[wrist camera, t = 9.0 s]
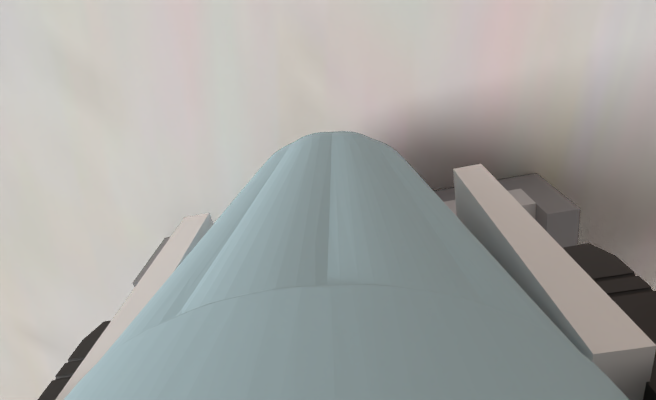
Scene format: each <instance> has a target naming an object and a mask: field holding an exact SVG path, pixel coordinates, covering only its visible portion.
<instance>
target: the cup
mask: <svg viewBox="0 0 656 400" xmlns="http://www.w3.org/2000/svg"><path fill="white" fill-rule="evenodd" d="M64 400H629V399H628V398H627V397H626V395H625V394H624V393H623V392H622V391H621V390H620V389H619V388H618V387H617V386H616V385H615V384H614V383H613V382H612V381H611V380H610V378H609V377H608V376H607V375H606V374H605V373H604V372H603V371H602V370H601V369H600V368H599V367H598V366H597V365H595V364H594V363H593V362H592V361H591V360H590V359H588V358H587V357H586V356H585V355H583V354H582V353H581V352H580V351H579V350H578V349H577V348H576V347H575V346H574V344H573V343H572V342H571V341H570V340H569V339H568V338H567V337H566V336H565V335H564V334H563V333H562V331H561V330H560V329H559V328H558V327H557V326H556V325H555V324H554V323H553V322H552V321H551V319H550V318H549V317H548V316H547V315H546V314H545V313H544V312H543V311H542V310H541V309H540V308H539V306H538V305H537V304H536V303H535V302H534V301H533V300H532V299H531V298H530V297H529V295H528V294H527V293H526V292H525V291H524V290H523V289H522V288H521V287H520V286H519V284H518V283H517V282H516V281H515V280H514V279H513V278H512V277H511V276H510V275H509V273H508V272H507V271H506V270H505V269H504V268H503V267H502V266H501V265H500V264H499V262H498V261H497V260H496V259H495V258H494V257H493V256H492V255H491V254H490V253H489V251H488V250H487V249H486V248H485V247H484V246H483V245H482V244H481V243H480V242H479V240H478V239H477V238H476V237H475V236H474V235H473V234H472V233H471V232H470V231H469V229H468V228H467V227H466V226H465V225H464V224H463V223H462V222H461V221H460V220H459V219H458V217H457V216H456V215H455V214H454V213H453V212H452V211H451V210H450V209H449V208H448V206H447V205H446V204H445V203H444V202H443V201H442V200H441V199H440V198H439V197H438V195H437V194H436V193H435V192H434V191H433V190H432V189H431V188H430V187H429V186H428V184H427V183H426V182H425V181H424V180H423V179H422V178H421V177H420V176H419V175H418V173H417V172H416V171H415V170H414V169H413V168H412V167H411V166H410V165H409V164H408V163H407V162H406V160H405V159H404V158H403V157H402V156H401V155H400V154H399V153H398V152H396V151H395V150H394V149H393V148H391V147H390V146H388V145H387V144H384V143H382V142H380V141H377V140H374V139H372V138H370V137H367V136H365V135H363V134H359V133H355V132H346V131H340V132H320V133H314V134H310V135H307V136H304V137H302V138H300V139H298V140H297V141H295V142H293V143H291V144H289V145H287V146H285V147H283V148H281V149H280V150H278V151H277V152H276V153H274V154H273V155H272V156H271V157H270V158H269V159H268V160H267V162H266V163H265V164H264V165H263V166H262V167H261V168H260V169H259V171H258V172H257V173H256V174H255V175H254V177H253V178H252V179H251V180H250V181H249V183H248V184H247V185H246V186H245V187H244V188H243V190H242V191H241V192H240V193H239V194H238V196H237V197H236V198H235V199H234V200H233V202H232V203H231V204H230V205H229V206H228V208H227V209H226V210H225V211H224V212H223V214H222V215H221V216H220V217H219V218H218V220H217V221H216V222H215V223H214V224H213V225H212V227H211V228H210V229H209V230H208V231H207V233H206V234H205V235H204V236H203V237H202V239H201V240H200V241H199V242H198V243H197V245H196V246H195V247H194V248H193V249H192V251H191V252H190V253H189V254H188V255H187V256H186V258H185V259H184V260H183V261H182V262H181V264H180V265H179V266H178V267H177V268H176V270H175V271H174V272H173V273H172V274H171V276H170V277H169V278H168V279H167V280H166V282H165V283H164V284H163V285H162V286H161V288H160V289H159V290H158V291H157V292H156V293H155V295H154V296H153V297H152V298H151V299H150V301H149V302H148V303H147V304H146V305H145V307H144V308H143V309H142V310H141V311H140V313H139V314H138V315H137V316H136V317H135V319H134V320H133V321H132V322H131V323H130V325H129V326H128V327H127V328H126V329H125V330H124V332H123V333H122V334H121V335H120V336H119V338H118V339H117V340H116V341H115V342H114V344H113V345H112V346H111V347H110V348H109V350H108V351H107V352H106V353H105V354H104V356H103V357H102V358H101V359H100V360H99V362H98V363H97V364H96V365H95V366H94V367H93V368H92V369H91V370H90V371H89V372H88V373H87V374H86V375H85V376H84V377H83V378H82V379H81V380H80V381H79V382H78V383H77V385H76V386H75V387H74V388H73V389H72V390H71V392H70V393H69V394H68V395H67V396H66V397H65V399H64Z"/></svg>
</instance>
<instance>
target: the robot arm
mask: <svg viewBox="0 0 656 400" xmlns="http://www.w3.org/2000/svg"><path fill="white" fill-rule="evenodd" d="M453 175H454V188H455V202H456V215H457V217H458V219H459V220H460V221H461V222H462V223H463V224H464V225H465V226H466V227H467V228H468V229H469V231H470V232H471V233H472V234H473V235H474V236H475V237H476V238H477V239H478V240H479V242H480V243H481V244H482V245H483V246H484V247H485V248H486V249H487V250H488V251H489V253H490V254H491V255H492V256H493V257H494V258H495V259H496V260H497V261H498V262H499V264H500V265H501V266H502V267H503V268H504V269H505V270H506V271H507V272H508V273H509V275H510V276H511V277H512V278H513V279H514V280H515V281H516V282H517V283H518V284H519V286H520V287H521V288H522V289H523V290H524V291H525V292H526V293H527V294H528V295H529V297H530V298H531V299H532V300H533V301H534V302H535V303H536V304H537V305H538V306H539V308H540V309H541V310H542V311H543V312H544V313H545V314H546V315H547V316H548V317H549V318H550V319H551V321H552V322H553V323H554V324H555V325H556V326H557V327H558V328H559V329H560V330H561V331H562V333H563V334H564V335H565V336H566V337H567V338H568V339H569V340H570V341H571V342H572V343H573V344H574V346H575V347H576V348H577V349H578V350H579V351H580V352H581V353H582V354H583V355H585V356H586V357H587V358H588V359H590V360H591V361H592V362H593V363H594V364H595V365H597V366H598V367H599V368H600V369H601V370H602V371H603V372H604V373H605V374H606V375H607V376H608V377H609V378H610V380H611V381H612V382H613V383H614V384H615V385H616V386H617V387H618V388H619V389H620V390H621V391H622V392H623V393H624V394H625V395H626V397H627V398H628V399H629V400H656V291H652V289H651V287H650V286H649V285H648V284H647V283H646V282H645V281H644V280H642V279H641V278H640V277H639V276H635V274H634V272H633V271H632V270H631V269H630V268H629V267H628V266H626V265H625V264H624V263H623V262H622V261H621V260H620V259H618V258H617V257H616V256H615V255H613V254H610V253H608V252H606V251H604V250H602V249H600V248H597V247H595V246H593V245H591V244H589V243H588V244H581V245H575V246H569V247H561V246H560V245H559V244H558V243H557V242H556V241H555V240H554V239H553V238H552V237H551V236H550V235H549V234H548V232H547V231H546V230H545V229H544V228H543V227H542V226H541V225H540V224H539V223H538V222H537V221H536V220H535V219H534V218H533V217H532V216H531V215H530V214H529V213H528V212H527V211H526V210H525V209H524V208H523V207H522V206H521V204H520V203H519V202H518V201H517V200H516V199H515V198H514V197H513V196H512V195H511V194H510V193H509V192H508V191H507V190H506V189H505V188H504V187H503V186H502V185H501V184H500V183H499V182H498V181H497V180H496V179H495V178H494V176H493V175H492V174H491V173H490V172H489V171H488V170H487V169H486V168H485V167H484V166H483V165H482V164H477V165H471V166H466V167H460V168H455V169H453ZM212 225H213V221H212V219H211V216H210V213H205V214H200V215H194V216H188V217H184V219H183V220H182V221H181V223H180V224H179V226H178V227H177V228H176V230H175V231H174V233H173V234H172V236H171V237H170V238H169V240H168V241H167V243H166V244H165V245H164V247H163V248H162V250H161V251H160V252H159V254H158V255H157V257H156V258H155V260H154V261H153V262H152V264H151V265H150V267H149V268H148V269H147V271H146V272H145V274H144V275H143V277H142V278H141V279H140V281H139V282H138V284H137V285H136V286H135V288H134V289H133V291H132V292H131V293H130V295H129V296H128V298H127V299H126V301H125V302H124V303H123V305H122V306H121V308H120V309H119V310H118V312H117V313H116V315H115V316H114V317H113V319H112V320H111V321H105V322H103V323H102V324H101V325H99V326H98V327H97V328H96V329H95V330H94V331H92V332H91V333H90V334H89V335H88V336H87V337H86V338H84V339H83V340H82V342H81V343H80V344H79V346H78V347H77V348H76V350H75V351H74V352H73V354H72V355H71V356H70V358H69V359H68V363H65V364H64V366H63V367H62V368H61V370H60V371H59V372H58V374H57V375H56V379H55V380H53V381H51V383H50V384H49V385H48V387H47V388H46V389H45V391H44V392H43V393H42V395H41V396H40V397H39V399H38V400H64V399H65V397H66V396H67V395H68V394H69V393H70V392H71V390H72V389H73V388H74V387H75V386H76V385H77V383H78V382H79V381H80V380H81V379H82V378H83V377H84V376H85V375H86V374H87V373H88V372H89V371H90V370H91V369H92V368H93V367H94V366H95V365H96V364H97V363H98V362H99V360H100V359H101V358H102V357H103V356H104V354H105V353H106V352H107V351H108V350H109V348H110V347H111V346H112V345H113V344H114V342H115V341H116V340H117V339H118V338H119V336H120V335H121V334H122V333H123V332H124V330H125V329H126V328H127V327H128V326H129V325H130V323H131V322H132V321H133V320H134V319H135V317H136V316H137V315H138V314H139V313H140V311H141V310H142V309H143V308H144V307H145V305H146V304H147V303H148V302H149V301H150V299H151V298H152V297H153V296H154V295H155V293H156V292H157V291H158V290H159V289H160V288H161V286H162V285H163V284H164V283H165V282H166V280H167V279H168V278H169V277H170V276H171V274H172V273H173V272H174V271H175V270H176V268H177V267H178V266H179V265H180V264H181V262H182V261H183V260H184V259H185V258H186V256H187V255H188V254H189V253H190V252H191V251H192V249H193V248H194V247H195V246H196V245H197V243H198V242H199V241H200V240H201V239H202V237H203V236H204V235H205V234H206V233H207V231H208V230H209V229H210V228H211V227H212Z"/></svg>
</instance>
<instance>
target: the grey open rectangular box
mask: <svg viewBox="0 0 656 400" xmlns="http://www.w3.org/2000/svg"><path fill="white" fill-rule="evenodd" d="M497 181H498V182H499V183H500V184H501V185H502V186H503V187H504V188H505V189H506V190H507V191H508V192H509V193H510V194H511V195H512V196H513V197H514V198H515V199H516V200H517V201H518V202H519V203H520V204H521V206H522V207H523V208H524V209H525V210H526V211H527V212H528V213H529V214H530V215H531V216H532V217H533V218H534V219H535V220H536V221H537V222H538V223H539V224H540V225H541V226H542V227H543V228H544V229H545V230H546V231H547V232H548V234H549V235H550V236H551V237H552V238H553V239H554V240H555V241H556V242H557V243H558V244H559V245H560V246H561V247H569V246H575V245H578V232H579V219H580V208H579V207H577V206H576V205H575V204H574V203H573V202H571V201H570V200H569V199H568V198H566V197H565V196H564V195H563V194H562V193H560V192H559V191H558V190H557V189H555V188H554V187H553V186H552V185H550V184H549V183H548V182H547V181H546V180H544V179H543V178H542V177H541V176H539V175H538V174H537V173H535V174H529V175H523V176H518V177H512V178H506V179H501V180H497ZM434 192H435V193H436V194H437V195H438V197H439V198H440V199H441V200H442V201H443V202H444V203H445V204H446V205H447V206H448V208H449V209H450V210H451V211H452V212H453V213H454V214H455V215H456V202H455V188H449V189H443V190H438V191H434ZM456 216H457V215H456ZM169 238H170V237H169ZM169 238H165V239H164V240H163V241H162V243H161V244H160V246H159V247H158V248H157V250H156V251H155V253H154V254H153V255H152V257H151V258H150V259H149V261H148V262H147V264H146V265H145V266H144V268H143V269H142V271H141V272H140V273H139V275H138V276H137V278H136V279H135V280H134V282H133V285H134V287H135V286H136V285H137V284H138V282H139V281H140V279H141V278H142V277H143V275H144V274H145V272H146V271H147V269H148V268H149V267H150V265H151V264H152V262H153V261H154V260H155V258H156V257H157V255H158V254H159V252H160V251H161V250H162V248H163V247H164V245H165V244H166V243H167V241H168V240H169Z"/></svg>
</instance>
